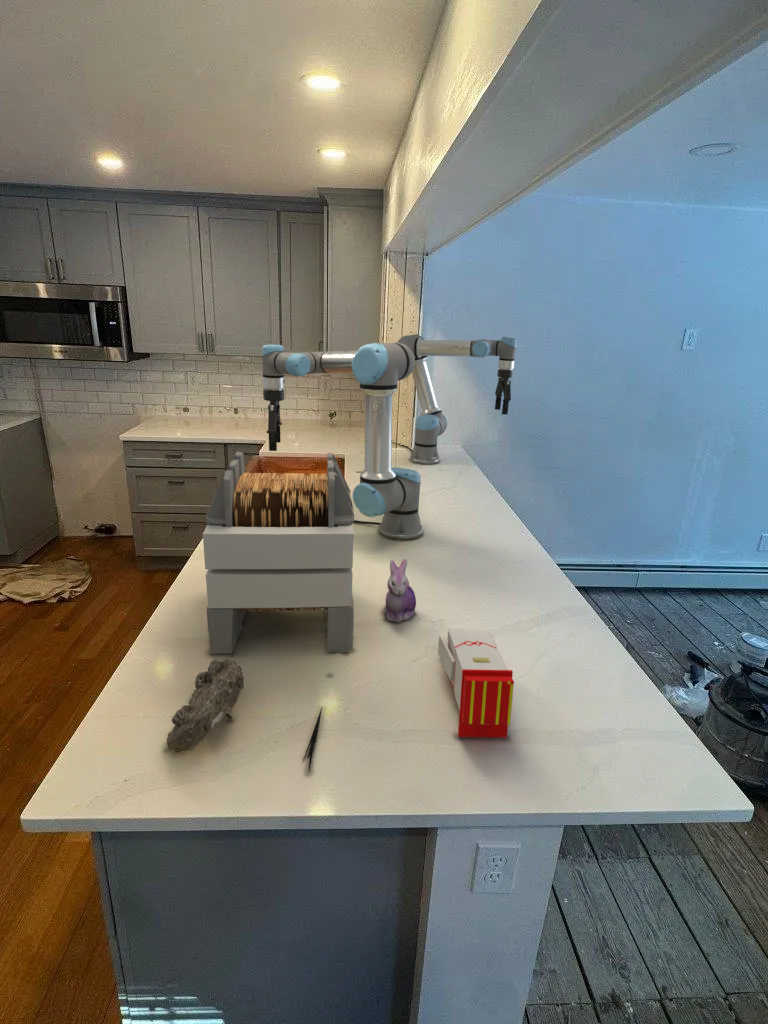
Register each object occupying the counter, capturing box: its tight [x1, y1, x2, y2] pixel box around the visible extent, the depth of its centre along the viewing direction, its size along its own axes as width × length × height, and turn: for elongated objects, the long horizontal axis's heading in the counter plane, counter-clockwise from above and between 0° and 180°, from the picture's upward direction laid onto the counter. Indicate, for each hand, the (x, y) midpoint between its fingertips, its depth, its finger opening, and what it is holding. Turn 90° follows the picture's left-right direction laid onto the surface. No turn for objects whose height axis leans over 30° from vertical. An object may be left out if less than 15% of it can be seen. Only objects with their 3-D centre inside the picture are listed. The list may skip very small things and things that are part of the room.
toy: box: [437, 628, 515, 738], centre depth 117 cm, size 12×13×30 cm
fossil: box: [166, 658, 245, 754], centre depth 106 cm, size 22×10×15 cm
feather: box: [301, 673, 332, 771], centre depth 108 cm, size 2×28×2 cm
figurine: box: [384, 558, 417, 623], centre depth 145 cm, size 9×10×15 cm
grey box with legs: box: [202, 451, 355, 655], centre depth 137 cm, size 34×33×41 cm
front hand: (275, 446), depth 213 cm, fingers open, 13 cm apart
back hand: (500, 411), depth 289 cm, fingers open, 13 cm apart
